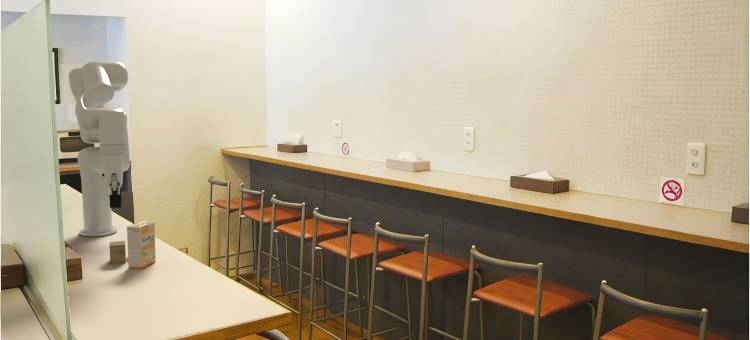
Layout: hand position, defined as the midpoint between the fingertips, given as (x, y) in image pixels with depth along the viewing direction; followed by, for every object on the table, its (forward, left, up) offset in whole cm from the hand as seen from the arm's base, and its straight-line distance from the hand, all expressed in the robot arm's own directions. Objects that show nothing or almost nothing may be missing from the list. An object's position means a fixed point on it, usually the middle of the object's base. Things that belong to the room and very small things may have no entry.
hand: (115, 204), depth 198 cm
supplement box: (+6, +7, -19) cm, 21 cm away
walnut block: (0, 0, -18) cm, 18 cm away
